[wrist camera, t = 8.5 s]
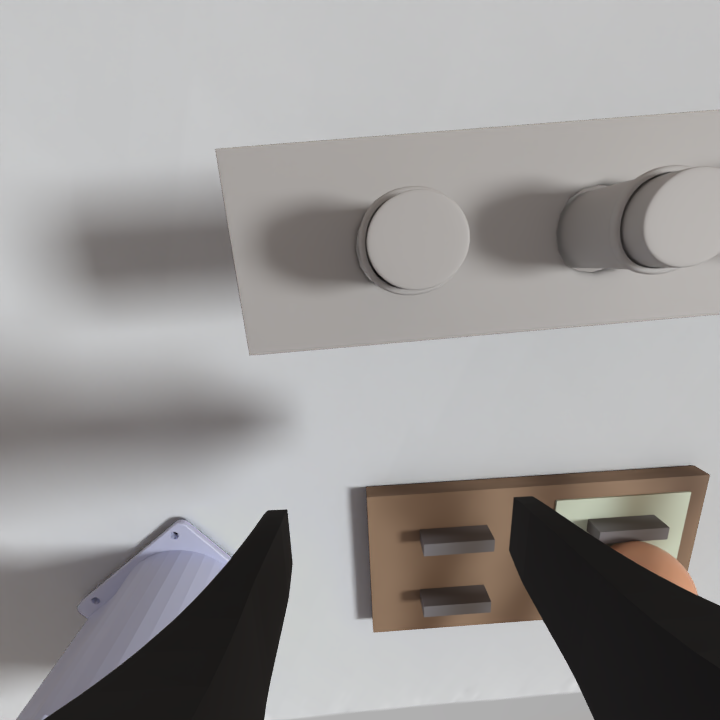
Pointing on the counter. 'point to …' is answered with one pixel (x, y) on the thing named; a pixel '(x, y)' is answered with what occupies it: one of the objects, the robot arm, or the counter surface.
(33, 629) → the counter surface
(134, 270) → the counter surface
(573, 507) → the cradle board
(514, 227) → the test tube rack
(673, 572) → the terracotta ball
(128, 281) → the counter surface
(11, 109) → the counter surface
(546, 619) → the robot arm
